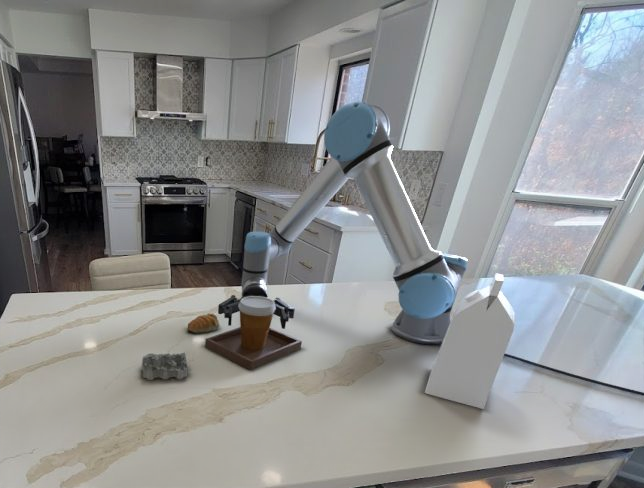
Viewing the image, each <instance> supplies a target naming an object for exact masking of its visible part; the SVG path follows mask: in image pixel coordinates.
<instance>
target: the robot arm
mask: <svg viewBox="0 0 644 488" xmlns="http://www.w3.org/2000/svg"><path fill="white" fill-rule="evenodd" d="M390 131H391V124H390V119H389V116H388V115H387V112H386V111H385V110H384V109H382V108H381V107H379V106H377V105H373V104H369V103H367V102H364V101H354V102H350V103H347V104H345V105H343V106H341V107H340V108H338V109H337V110H336V111H335V112H334V113H333V114H332V115H331V117H330V118H329V120H328V121H327V123H326V127H325V130H324V134H323V135H324V136H323V137H324V138H323V139H324V140H323V141H324V147H325V149H326V152H327V153H328V154H329V156H330V158H329V160H327V161H326V163H325V164H324V166H323V167H322V168H321V169H320V170H319V171H318V172H317V174H316V175H315V176H314V177H313V179H312V180H311V181H310V183H309V184H308V185H307V187H305V188H304V190H303V192H301V194H300V195H299V196H298V198H296V199H295V201H294V202H293V204H292V205H291V206H290V207H289V209H288V210H287V211H286V213H284V215H282V217H281V218H280V220H279V221H278V222H277V223H276V224H275V226H274V227H273V228H272V230H271V231H270V232H269V233H268V232H267V231H249V232H248V233H247V234H246V236H245V242H244V253H243V265H242V277H241V280H240V281H241V282H240V286H241V297H240V298H239V297H237V296H236V295H235V294H231V296H230V297H229V298H227V299H225V300H224V301H222V302H220V303H219V304H218V305H217V307H218V308H217V314H218V315H223V314H224V315H223V317H224V319H228V322H227V323H228V324H227V326H229V327H230V326H232V317H233V314H236V313H240V310H239V307H238V305H239V303H240V301H241V299H242V298H244V297H249V296H260V297H266V298H269V294H268V289H267V277H268V270H269V269H268V268H269V262H270V261H272V260H274V259H275V260H276V259H277V258H280V257H282V256H284V255H286V253H288V252H289V250H290V249H291V246H292V244H293V243H294V241H296V239H297V238H298V237H299V236H300V235H301V233H302V232H303V231H304V230H305V229H306V228H307V227H308V226H309V224H310V223H311V222H312V221H313V220H314V219H315V218H316V217H317V215H318V214H319V213H321V211H322V210H323V208H324V207H326V205H327V203H329V202H330V200H332V198H333V197H334V196H335V195H336V194H337V193H338V191H340V189H341V188H342V187H343V186H344V185H345V184H346V183H347V181H348V180H349V179H353V180H354V181H355V184H356V186H357V188H358V191H359V193H360V194H361V197H362V198H363V200H364V203H365V205H366V207H367V209H368V211H369V213H370V215H371V218H372V220H373V222H374V224H375V226H376V229H377V230H378V232H379V235H380V237H381V240H382V241H383V243H384V246H385V248H386V250H387V252H388V254H389V257H390V258H391V261H392V262H393V265H394V269H393V272H392V278H393V281H394V282H395V285H396V287H397V290H398V293H397V294H398V295H397V296H398V303H399V306H400V307H401V311H400V312H399V313H398V315H397V316H396V318H395V319H394V321H393V322H392V326H391V332H392V333H393V334H394V335H396V336H397V337H398V338H401V339H403V340H405V341H409V342H411V343H416V344H421V345H431V346H432V345H436V346H437V345H442V342H443V340H444V337H445V335H446V332H447V330H448V327H449V324H450V322H451V312H452V309H453V306H454V304H455V301H456V298H457V295H458V292H459V289H460V286H461V284H462V281H463V278H464V275H465V272H466V271H467V268H468V267H467V266H468V259H467V258H466V257H464V256H460V255H454V254H449V253H442V251H439V250H435V249H433V248H432V247H431V244H430V243H429V240H428V238H427V235H426V234H425V231H424V229H423V227H422V225H421V223H420V220H419V218H418V216H417V214H416V212H415V209H414V207H413V206H412V203H411V201H410V199H409V196H408V194H407V192H406V190H405V187H404V185H403V183H402V181H401V179H400V177H399V174H398V172H397V169H396V168H395V166H394V163H393V161H392V159H391V154H392V151H393V150H394V149H393V148H394V144H393V143H392V140H391V138H390V133H391V132H390ZM272 300H273V301H274V302H275V307H276V310H275V311H274V313H273V316H277V317H279V321H280V326H281V329H282V330H286V326H287V325H286V324H287V322H289V319H294V316H295V311H296V309H295V308H294V307H292V306H291V305H289V304H288V303H286V302H284V301H283V300H281V298H280V297H275V298H274V299H272ZM503 357H506V358H508V359H513V360H515V361H519V362H523V363H524V364H525V363H526V364H528V365H532V366H534V367H538V368H540V369H543V370H547V371H550V372H553V373H557V374H559V375H564V376H567V377H571V378H575V379H577V380H581V381H585V382H587V383H588V382H589V383H593V384H595V385H599V386H603V387H607V388H610V389H614V390H618V391H622V392H627V393H631V394H635V395H638V396H643V397H644V392H643V391H640V390H635V389H631V388H626V387H623V386H619V385H614V384H611V383H606V382H603V381H599V380H595V379H592V378H588V377H584V376H581V375H577V374H574V373H570V372H567V371H564V370H560V369H557V368H554V367H550V366H547V365H544V364H541V363H537V362H535V361H531V360H528V359H525V358H522V357H518V356H516V355H512V354H508V353H505V354H504V356H503Z"/></svg>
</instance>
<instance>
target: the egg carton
mask: <svg viewBox="0 0 644 488" xmlns="http://www.w3.org/2000/svg"><path fill="white" fill-rule="evenodd" d="M141 369H142V375H143V376H142V378H143V379H147V380H148V381H153V380H155V379H156V378H157V379H158V378H159V379H162V380H169V379H170V378H175V379H177V380H182V379H183V378H185V377H187V375H188V373H187V371H188V369H189V368H188V361H187V354H186V352H181V353H177V354H175V353H172V354H170V353H169V352H168V353H159V354H158V353H157V354H156V353H152V352H151V353H147V354H145V355H143V356H142V359H141Z"/></svg>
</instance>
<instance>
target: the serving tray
mask: <svg viewBox="0 0 644 488" xmlns="http://www.w3.org/2000/svg"><path fill="white" fill-rule="evenodd" d="M302 342H303V341H302V339H301V340H300V339H298V338H295V337H293V336H291V335H288V334H286V333H283V332H282V331H279V330H276V329H274V328H271V327H270V328H269V332H268V335H267V339H266V343H265V347H264V348H262V349H258V350H252V349H247V348H245V347H243V346H242V345H241V326H240V327H236V328H233V329H231V330H228V331H225V332H221V333H219V334H216V335H212V336H210V337H207V338H205V342H204V346H205V348H207V349H209V350H211V351H213V352H215V353H216V354H219V355H220V356H223V357H224V358H227V359H228V360H230V361H233V362H235V363H236V364H238V365H240V366H242V367H244V368H246V369H248V370H249V371H252V370H254V369H257V368H259V367H261V366H263V365H266V364H268V363H271V362H272V361H275V360H278V359H280V358H282V357H285V356H287V355H289V354H292V353H294V352H297V351H299V350H301V348H302V344H303V343H302Z"/></svg>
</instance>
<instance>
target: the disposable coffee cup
mask: <svg viewBox="0 0 644 488" xmlns="http://www.w3.org/2000/svg"><path fill="white" fill-rule="evenodd" d="M273 300H274V299H271V298H269V297H268V298H266V297H260V296H249V297H244V298H242V299H241V301H240V303H239V305H238V307H239V310H240V311H239V320H240V321H239V323H240V327H241V345H242V346H243V347H245V348H247V349H252V350H258V349H262V348H264V347H265V343H266V339H267V335H268V332H269V328H271V324H272V321H273V320H272V319H273V316H274V314H273V313H274V311H275V310H276V307H275V302H274V301H273Z"/></svg>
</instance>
